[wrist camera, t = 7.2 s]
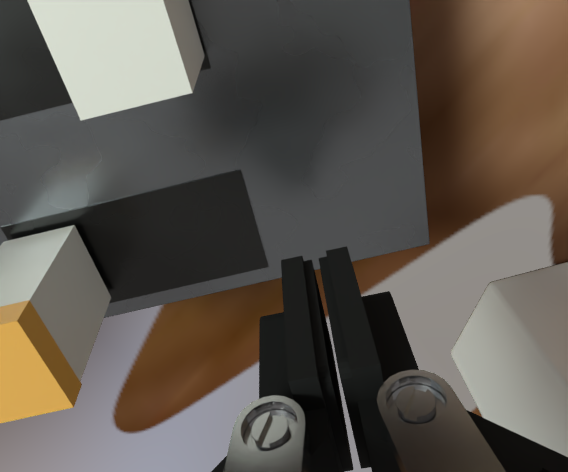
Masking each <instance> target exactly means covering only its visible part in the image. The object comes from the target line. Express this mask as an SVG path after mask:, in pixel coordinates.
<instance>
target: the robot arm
mask: <svg viewBox="0 0 568 472" xmlns="http://www.w3.org/2000/svg"><path fill="white" fill-rule="evenodd" d="M326 254H327V256H326V257H321V258H319V264H320V270H321V275H322V281H323V286H324V292H325V297H326V303H327V308H328V314H329V319H330V324H331V330H332V336H333V341H334V347H335V352H336V357H337V363H338V368H339V373H340V378H341V383H342V387H343V391H344V396H345V400H346V404H347V409H348V413H349V417H350V421H351V426H352V430H353V435H354V439H355V443H356V448H357V452H358V456H359V461H360V465H361V468H367V467H371V468H372V472H568V457H567V456H564V455H562V454H560V453H558V452H556V451H554V450H551V449H549V448H547V447H545V446H543V445H541V444H539V443H536V442H534V441H532V440H530V439H528V438H526V437H523V436H521V435H519V434H517V433H515V432H513V431H510V430H508V429H506V428H504V427H502V426H500V425H498V424H495V423H493V422H491V421H489V420H487V419H485V418H482V417H480V416H478V415H476V414H474V413H472V412H469V411H467V410H466V409H465V408H464V406H463V405H462V403H461V402H460V400H459V398H458V397H457V395H456V394H455V392H454V391H453V389H452V388H451V386H450V385H449V384H448V383H447V382H446V381H445V380H444V379H443V378H441V377H439V376H438V375H436V374H434V373H430V372H427V371H424V370H419V369H418V366H417V363H416V361H415V358H414V355H413V353H412V350H411V347H410V344H409V342H408V339H407V336H406V334H405V331H404V328H403V326H402V323H401V320H400V317H399V315H398V312H397V309H396V307H395V304H394V301H393V298H392V296H391V294H390V292H389V291H388V292H383V293H378V294H374V295H368V296H363V297H361V294H360V290H359V287H358V283H357V280H356V276H355V273H354V269H353V266H352V262H351V258H350V255H349V251H348V248H347V246H346V247H341V248H336V249H332V250H327V251H326ZM281 272H282V288H283V305H284V312H283V313H278V314H273V315H268V316H263V317H261V318H260V358H259V376H260V377H259V399H258V400H256V401H254V402H252V403H251V404H250V405H248V406H247V407H246V408H244V409H243V411H242V412H241V413H240V415H239V416H238V417H237V420H236V422H235V424H234V427H233V431H232V436H231V440H230V444H229V449H228V453H227V456H226V457H225V458H224V459H223V460H222V461H221V462H220V463H219V465H217V467H215V469H214V470H213V471H212V472H344V471H350V470H353V464H352V459H351V453H350V447H349V441H348V436H347V430H346V424H345V418H344V414H343V407H342V401H341V396H340V390H339V384H338V379H337V372H336V367H335V361H334V356H333V350H332V345H331V341H330V336H329V331H328V327H327V323H326V318H325V314H324V310H323V305H322V301H321V297H320V293H319V288H318V284H317V280H316V275H315V271H314V267H313V262H312V260H307V261H304V260H303V256H298V257H293V258H288V259H283V260H281Z"/></svg>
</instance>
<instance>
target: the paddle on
mask: <svg viewBox="0 0 568 472" xmlns="http://www.w3.org/2000/svg"><path fill="white" fill-rule="evenodd" d="M110 299H111V296H110V294H109V292H108V290H107V288H106V286H105V284H104V282H103V280H102V278H101V276H100V274H99V272H98V270H97V268H96V266H95V264H94V262H93V260H92V258H91V256H90V255H89V253H88V251H87V249H86V247H85V245H84V243H83V241H82V239H81V237H80V235H79V233H78V231H77V229H76V227H75V225H72V226H68V227H64V228H59V229H55V230H51V231H47V232H42V233H38V234H34V235H30V236H26V237H21V238H17V239H13V240H9V241H4V242H3V243H2V244H1V245H0V423H4V422H9V421H13V420H17V419H22V418H27V417H31V416H36V415H41V414H45V413H50V412H54V411H59V410H64V409H68V408H73V407H74V405H75V402H76V399H77V396H78V394H79V391H80V388H81V385H82V384H81V382H80V381H81V378H82V375H83V372H84V370H85V367H86V364H87V361H88V359H89V356H90V353H91V351H92V348H93V345H94V342H95V340H96V337H97V335H98V332H99V329H100V326H101V324H102V321H103V318H104V316H105V313H106V310H107V307H108V305H109V302H110Z"/></svg>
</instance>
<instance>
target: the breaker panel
mask: <svg viewBox="0 0 568 472" xmlns="http://www.w3.org/2000/svg"><path fill="white" fill-rule="evenodd" d="M188 1H189V4H190V7H191V11H192V14H193V18H194V21H195V25H196V28H197V31H198V35H199V38H200V42H201V45H202V49H203V52H204V55H205V56H204V59H203V63H202V66H201V69H200V72H199V75H198V78H197V81H196V84H195V87H194V90H193V93H190V94H186V95H182V96H178V97H174V98H170V99H166V100H162V101H158V102H154V103H150V104H146V105H142V106H138V107H134V108H130V109H126V110H122V111H118V112H113V113H109V114H105V115H101V116H97V117H93V118H89V119H85V120H80V118H79V115H78V113H77V111H76V109H75V107H74V104H73V102H72V100H71V98H70V95H69V93H68V91H67V89H66V86H65V84H64V82H63V80H62V77H61V75H60V73H59V71H58V68H57V66H56V64H55V62H54V59H53V57H52V55H51V53H50V50H49V48H48V46H47V44H46V41H45V39H44V37H43V35H42V32H41V30H40V28H39V26H38V23H37V21H36V19H35V17H34V14H33V12H32V10H31V8H30V5H29V3H28V1H27V0H0V245H1V244H2V243H3V242H4V241H9V240H13V239H17V238H21V237H26V236H30V235H34V234H38V233H42V232H47V231H51V230H55V229H59V228H64V227H68V226H72V225H75V227H76V229H77V231H78V233H79V235H80V237H81V239H82V241H83V243H84V245H85V247H86V249H87V251H88V253H89V255H90V256H91V258H92V260H93V262H94V264H95V266H96V268H97V270H98V272H99V274H100V276H101V278H102V280H103V282H104V284H105V286H106V288H107V290H108V292H109V294H110V296H111V299H110V302H109V305H108V307H107V310H106V313H105V316H104V318H105V317H109V316H114V315H119V314H123V313H127V312H132V311H136V310H140V309H145V308H149V307H154V306H158V305H163V304H167V303H171V302H176V301H180V300H185V299H189V298H194V297H198V296H202V295H207V294H211V293H216V292H220V291H224V290H229V289H233V288H238V287H242V286H246V285H251V284H255V283H260V282H264V281H268V280H273V279H277V278H282V272H281V260H283V259H288V258H293V257H298V256H303V260H304V261H307V260H312V262H313V267H314V270H317V269H320V264H319V258H321V257H326V256H327V254H326V251H327V250H332V249H336V248H341V247H346V246H347V248H348V251H349V255H350V258H351V262H352V261H356V260H361V259H365V258H370V257H374V256H378V255H383V254H387V253H392V252H396V251H400V250H405V249H409V248H414V247H418V246H422V245H427V244H429V232H428V220H427V208H426V195H425V183H424V171H423V159H422V147H421V135H420V123H419V111H418V98H417V86H416V74H415V62H414V50H413V38H412V26H411V13H410V1H409V0H188Z"/></svg>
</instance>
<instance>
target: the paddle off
mask: <svg viewBox="0 0 568 472" xmlns="http://www.w3.org/2000/svg"><path fill="white" fill-rule="evenodd" d="M27 1H28V3H29V5H30V8H31V10H32V12H33V14H34V17H35V19H36V21H37V23H38V26H39V28H40V30H41V32H42V35H43V37H44V39H45V41H46V44H47V46H48V48H49V50H50V53H51V55H52V57H53V59H54V62H55V64H56V66H57V68H58V71H59V73H60V75H61V77H62V80H63V82H64V84H65V86H66V89H67V91H68V93H69V95H70V98H71V100H72V102H73V104H74V107H75V109H76V111H77V113H78V115H79V118H80V120H85V119H89V118H93V117H97V116H101V115H105V114H109V113H113V112H118V111H122V110H126V109H130V108H134V107H138V106H142V105H146V104H150V103H154V102H158V101H162V100H166V99H170V98H174V97H178V96H182V95H186V94H190V93H193V90H194V87H195V84H196V81H197V78H198V75H199V72H200V69H201V66H202V63H203V59H204V56H205V55H204V52H203V49H202V45H201V42H200V38H199V35H198V31H197V28H196V25H195V21H194V18H193V14H192V11H191V7H190V4H189V1H188V0H27Z"/></svg>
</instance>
